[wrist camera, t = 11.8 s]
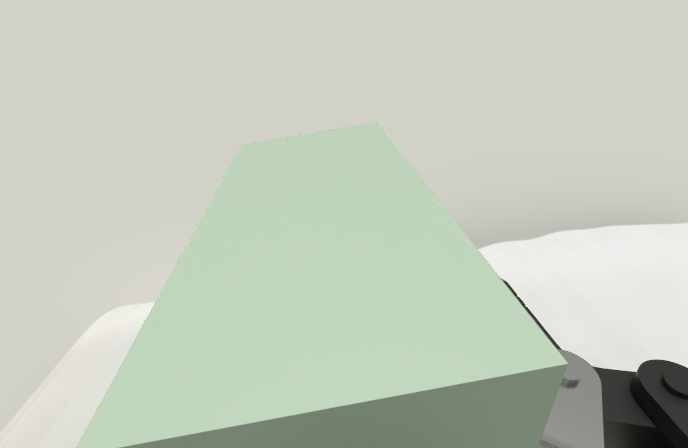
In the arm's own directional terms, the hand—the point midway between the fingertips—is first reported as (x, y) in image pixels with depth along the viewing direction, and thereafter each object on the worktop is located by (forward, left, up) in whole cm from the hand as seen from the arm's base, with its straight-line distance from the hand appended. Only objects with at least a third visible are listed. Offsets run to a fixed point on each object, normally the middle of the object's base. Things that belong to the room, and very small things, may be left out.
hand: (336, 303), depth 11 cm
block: (0, +2, -11) cm, 11 cm away
